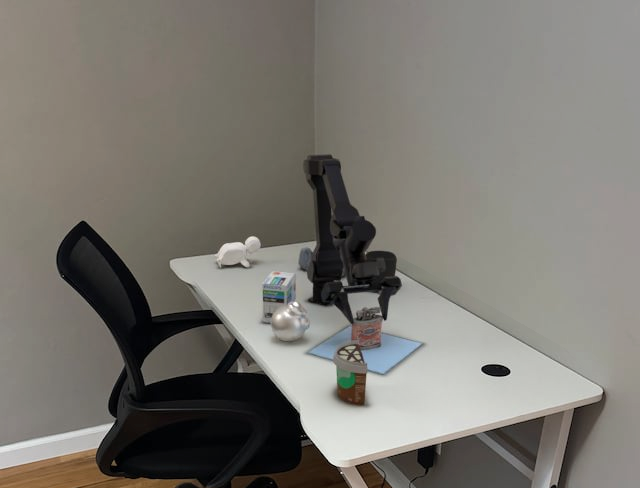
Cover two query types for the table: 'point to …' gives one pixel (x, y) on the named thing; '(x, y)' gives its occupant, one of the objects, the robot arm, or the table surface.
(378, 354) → the blue square mat
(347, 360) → the food container
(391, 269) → the pen holder
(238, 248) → the white turtle figurine
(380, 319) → the lighter
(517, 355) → the table surface
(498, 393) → the table surface
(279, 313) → the silver rounded lump
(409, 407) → the table surface
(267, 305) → the light bulb box
